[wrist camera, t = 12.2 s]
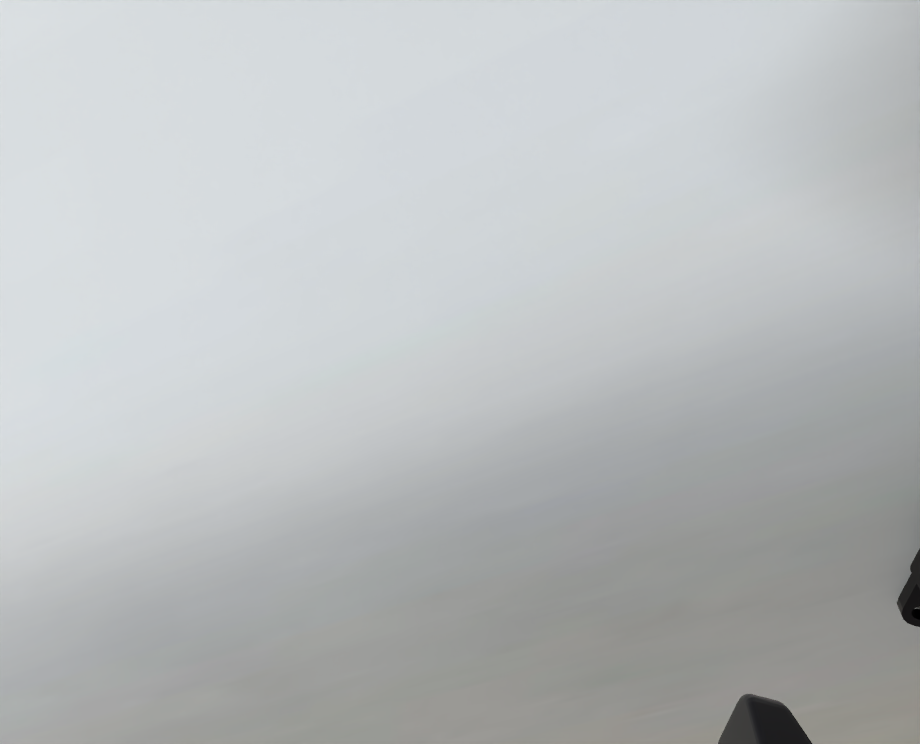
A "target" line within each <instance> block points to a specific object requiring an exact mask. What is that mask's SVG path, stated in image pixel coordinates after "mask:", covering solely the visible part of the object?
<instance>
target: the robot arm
mask: <svg viewBox="0 0 920 744" xmlns="http://www.w3.org/2000/svg"><path fill="white" fill-rule="evenodd" d="M910 570H911V572H912V574H911V576H910V577H909V579H908V581H907V583H906V585H905V587H904V589H903V590H902V592H901V594H900V596H899V598H898V602H897V605H898V607H899V610H900V612H901V615H902V617H903V619H904V620H905V621H906V622H907V623H909V624H911V625H914V626H918V627H920V609H914V608H915V607H918V606H920V549H919V551H918V553H917V555H916V557H915V558H914V560H913V562H912V564H911V567H910ZM718 744H812V743H811V741H810V740H809V738H808V737H807V735H806V734H805V732H804V731H803V729H802V728H801V726H800V725H799V723H798V722H797V721H796V719H795V718H794V716H793V715H792V713H791V712H790V710H789V709H788V708H787V707H786V706H785V705H784V704H783V703H781V702H779V701H776V700H772V699H768V698H764V697H760V696H756V695H753V694H745V695H743V696H742V697H741V698H740V699H739V701H738V702H737V704H736V707H735V709H734V711H733V713H732V715H731V717H730V719H729V721H728V723H727V725H726V727H725V729H724V731H723V733H722V735H721V737H720V739H719V742H718Z"/></svg>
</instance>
